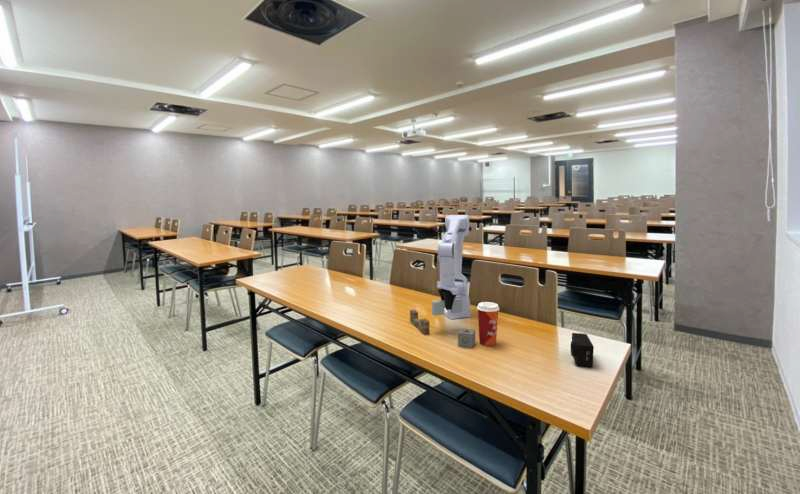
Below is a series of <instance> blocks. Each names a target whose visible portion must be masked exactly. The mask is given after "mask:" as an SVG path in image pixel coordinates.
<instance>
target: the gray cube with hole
mask: <svg viewBox="0 0 800 494" xmlns="http://www.w3.org/2000/svg"><path fill="white" fill-rule="evenodd" d="M475 344H476V329H475V328H474V329H473V328H467V327H466V328H465V327H461V328H460V329H459V331H458V332H457V347H460V348H465V349H466V348H469V349H473V348H474V346H475Z"/></svg>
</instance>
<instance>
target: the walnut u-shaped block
mask: <svg viewBox="0 0 800 494" xmlns="http://www.w3.org/2000/svg"><path fill="white" fill-rule="evenodd" d="M409 314H410V315H409V322H410V323H411V324H412V325H413V326H414V327H415V328H417V329H418V330H419V332H421V333H422V334H423V335H424V336H428V335H430V320H428V319H427V318H426V317H425V318H420V319H419V312H418V311H417V310H416V309H410V310H409Z"/></svg>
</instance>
